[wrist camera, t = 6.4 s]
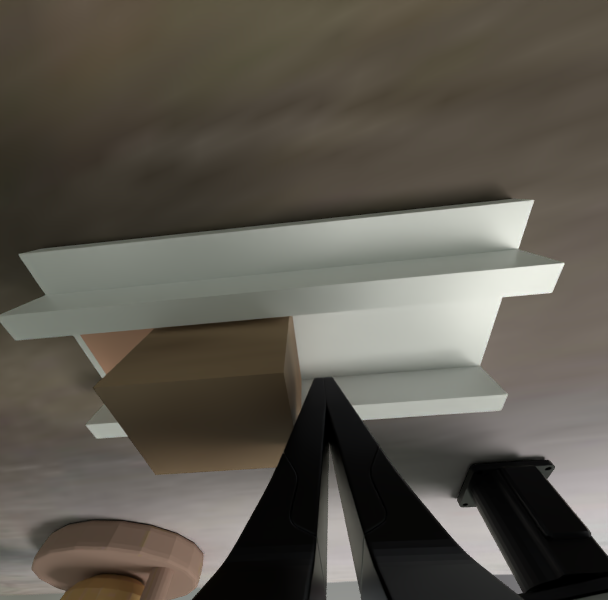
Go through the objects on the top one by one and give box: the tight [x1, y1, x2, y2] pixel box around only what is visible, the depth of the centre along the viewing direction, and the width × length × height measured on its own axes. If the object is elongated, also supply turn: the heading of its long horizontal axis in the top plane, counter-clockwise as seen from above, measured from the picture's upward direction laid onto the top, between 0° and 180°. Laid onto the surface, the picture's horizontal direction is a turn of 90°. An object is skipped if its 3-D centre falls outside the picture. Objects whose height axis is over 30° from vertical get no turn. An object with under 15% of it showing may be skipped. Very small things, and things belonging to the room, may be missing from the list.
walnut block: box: [93, 316, 302, 475], centre depth 10 cm, size 5×6×4 cm
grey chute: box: [0, 199, 565, 439], centre depth 12 cm, size 12×22×3 cm, turn 96°
